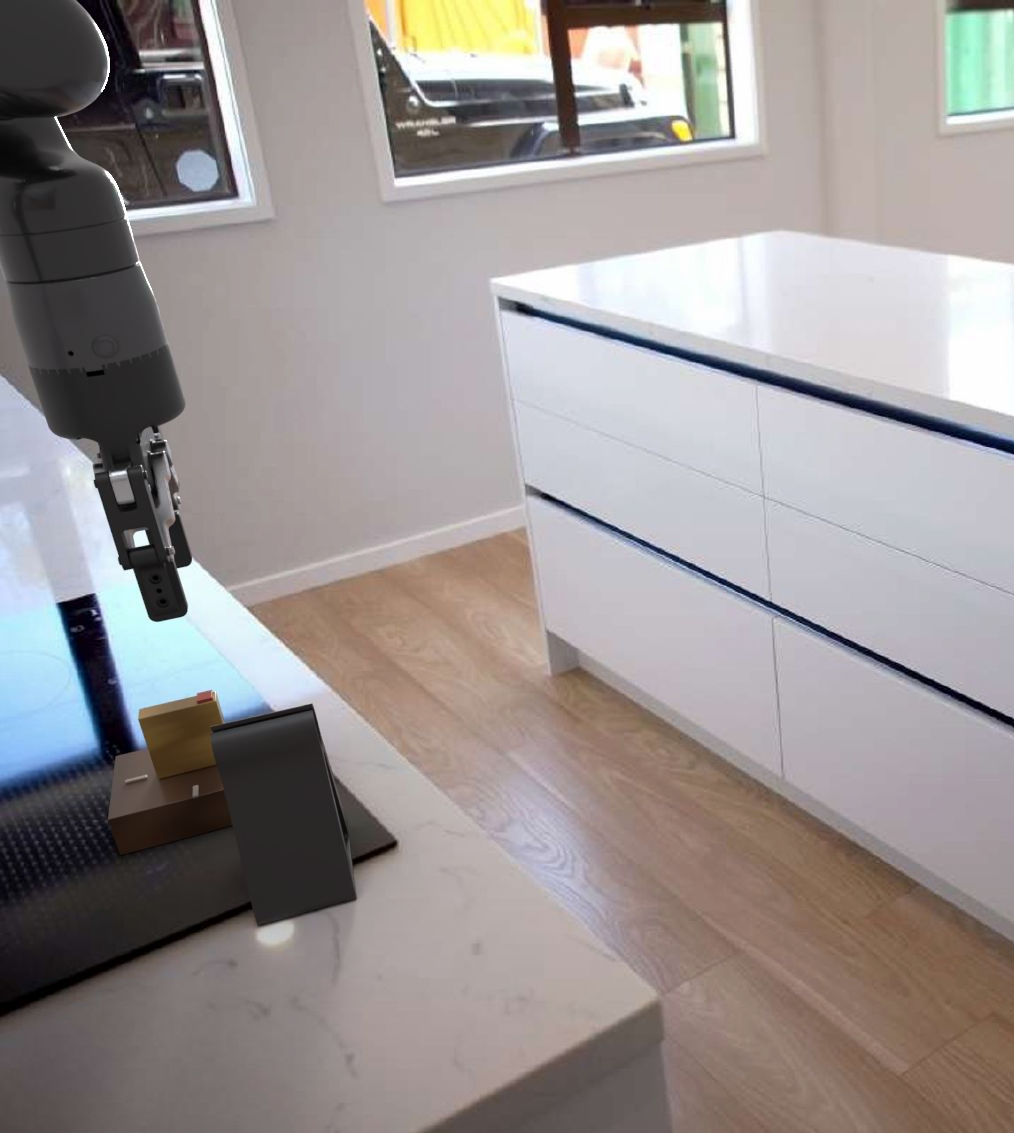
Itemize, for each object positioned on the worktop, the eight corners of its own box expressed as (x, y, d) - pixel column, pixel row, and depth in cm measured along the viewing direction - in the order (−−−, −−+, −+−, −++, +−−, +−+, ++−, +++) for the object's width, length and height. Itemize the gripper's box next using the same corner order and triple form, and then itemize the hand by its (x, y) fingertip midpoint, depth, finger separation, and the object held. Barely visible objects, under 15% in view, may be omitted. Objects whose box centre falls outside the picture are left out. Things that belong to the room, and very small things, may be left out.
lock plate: (120, 856, 88) (106, 818, 87) (127, 789, 96) (115, 753, 95) (290, 810, 92) (280, 773, 91) (284, 749, 100) (274, 714, 99)
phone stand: (356, 900, 83) (315, 740, 78) (256, 928, 81) (206, 766, 76) (349, 825, 90) (310, 675, 85) (257, 849, 88) (212, 697, 83)
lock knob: (157, 779, 91) (136, 716, 89) (158, 768, 93) (137, 705, 91) (233, 760, 93) (215, 697, 91) (233, 750, 95) (215, 687, 92)
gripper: (42, 331, 81) (118, 564, 88) (7, 386, 69) (98, 651, 76) (171, 313, 84) (236, 541, 91) (160, 363, 72) (235, 621, 79)
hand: (173, 591), depth 83 cm, fingers open, 8 cm apart
